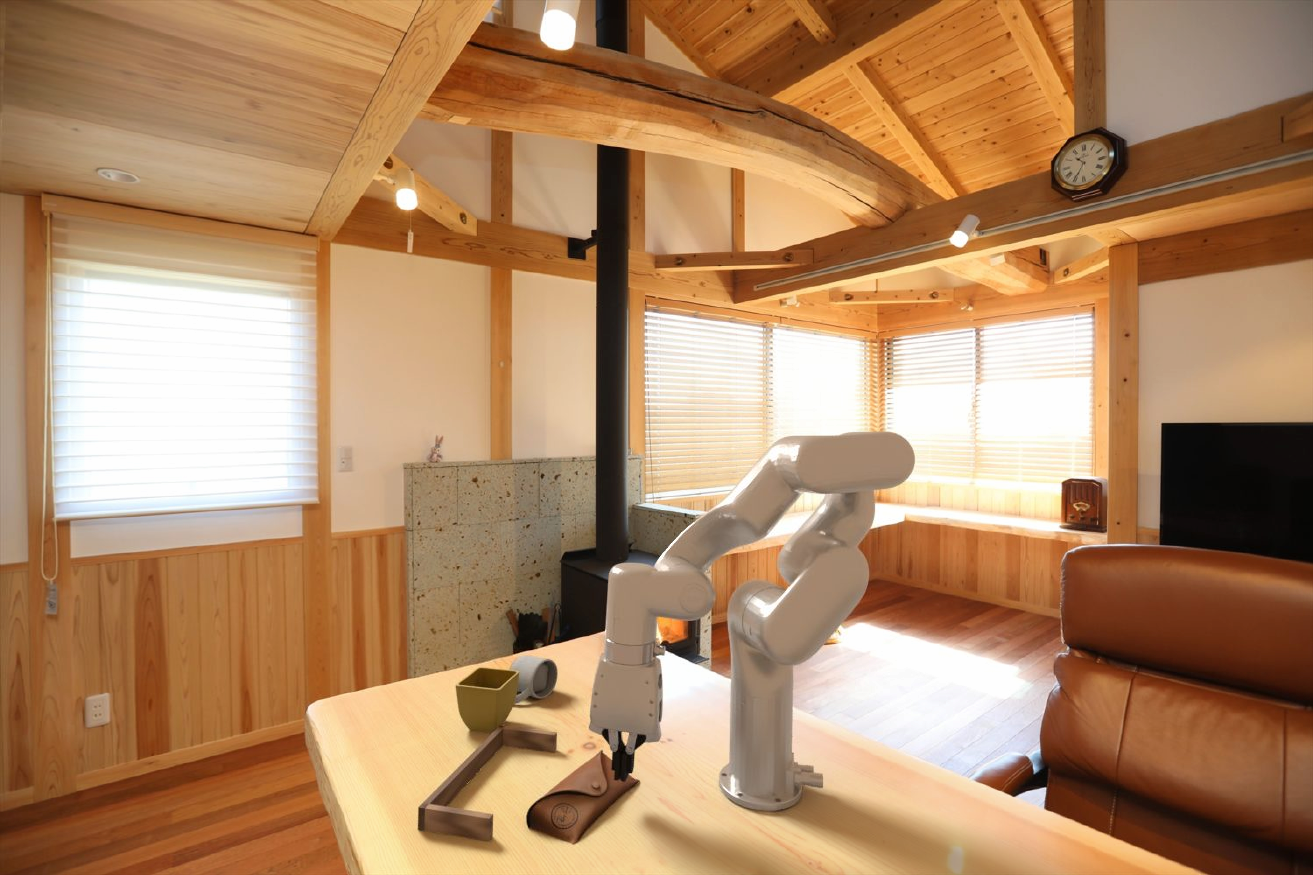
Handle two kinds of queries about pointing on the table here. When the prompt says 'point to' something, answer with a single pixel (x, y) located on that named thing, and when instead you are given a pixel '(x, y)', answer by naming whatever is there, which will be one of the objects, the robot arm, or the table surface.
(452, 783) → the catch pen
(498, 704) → the flower pot
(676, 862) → the table surface
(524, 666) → the ceramic mug
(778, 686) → the robot arm
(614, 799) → the sunglasses case
